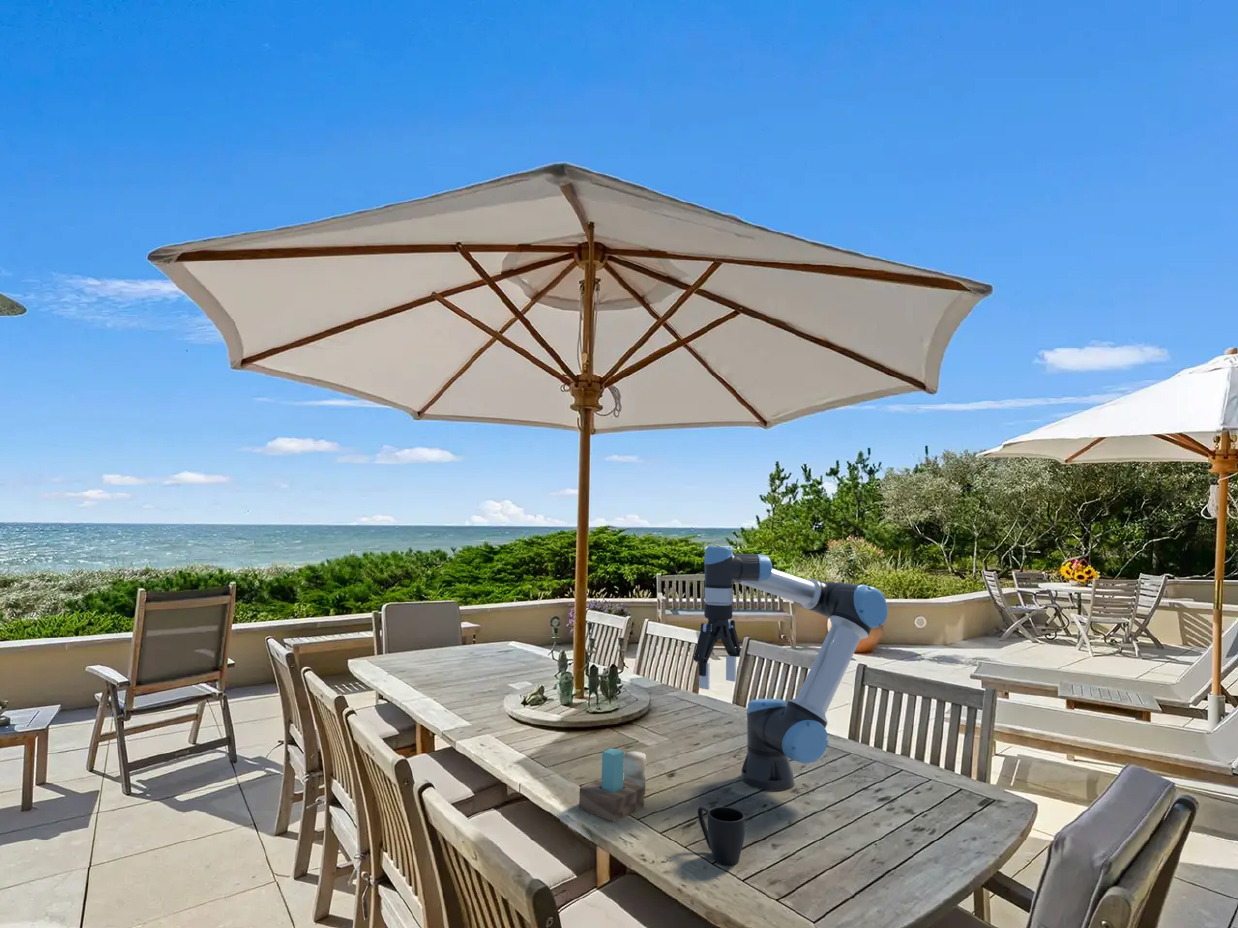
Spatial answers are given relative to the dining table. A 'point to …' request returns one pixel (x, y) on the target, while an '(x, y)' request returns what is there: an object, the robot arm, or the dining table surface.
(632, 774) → the round dowel
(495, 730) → the dining table surface
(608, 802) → the socket block
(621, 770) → the square bit
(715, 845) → the mug
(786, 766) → the robot arm
